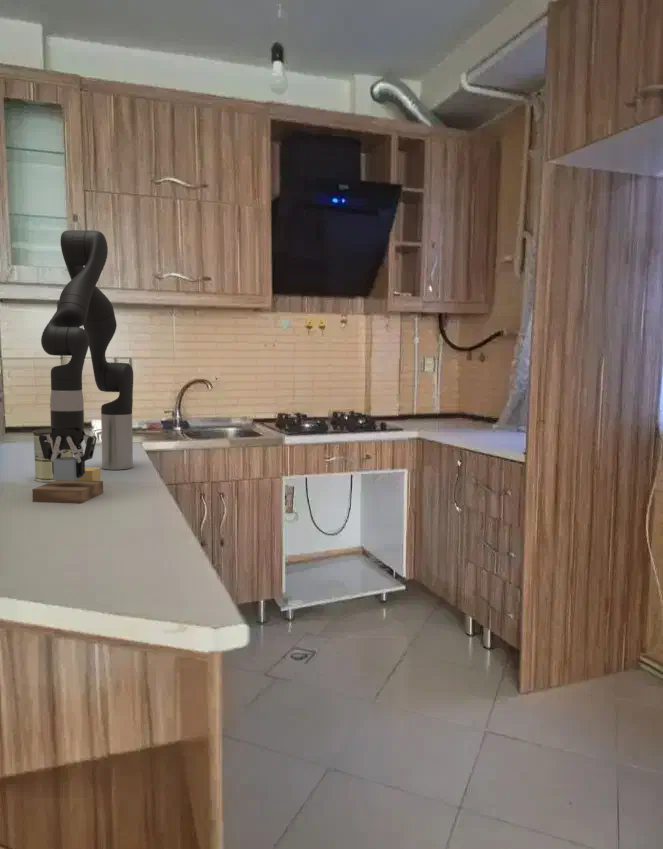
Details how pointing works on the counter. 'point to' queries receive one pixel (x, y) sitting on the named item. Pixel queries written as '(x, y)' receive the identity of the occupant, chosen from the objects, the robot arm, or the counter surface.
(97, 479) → the ochre block
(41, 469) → the coffee can
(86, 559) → the counter surface
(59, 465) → the slate block
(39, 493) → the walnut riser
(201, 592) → the counter surface
